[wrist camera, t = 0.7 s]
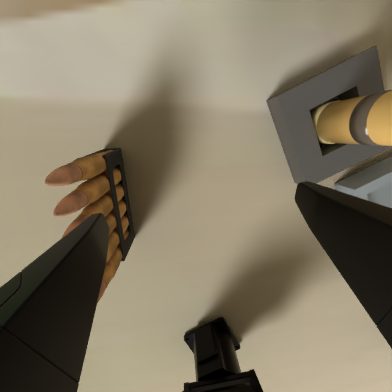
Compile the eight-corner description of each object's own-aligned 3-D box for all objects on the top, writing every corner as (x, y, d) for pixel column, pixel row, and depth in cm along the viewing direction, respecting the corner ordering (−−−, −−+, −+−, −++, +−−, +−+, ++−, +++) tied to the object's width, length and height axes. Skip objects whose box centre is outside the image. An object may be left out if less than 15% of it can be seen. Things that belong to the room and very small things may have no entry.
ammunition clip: (134, 238, 25) (100, 325, 14) (119, 239, 25) (70, 329, 13) (120, 148, 22) (60, 163, 11) (102, 149, 22) (22, 165, 10)
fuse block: (372, 144, 24) (393, 145, 22) (294, 182, 25) (307, 187, 22) (354, 55, 21) (376, 45, 19) (266, 100, 22) (277, 96, 20)
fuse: (343, 132, 24) (561, 130, 10) (310, 149, 24) (480, 168, 11) (334, 96, 22) (569, 39, 9) (299, 114, 23) (477, 85, 9)
